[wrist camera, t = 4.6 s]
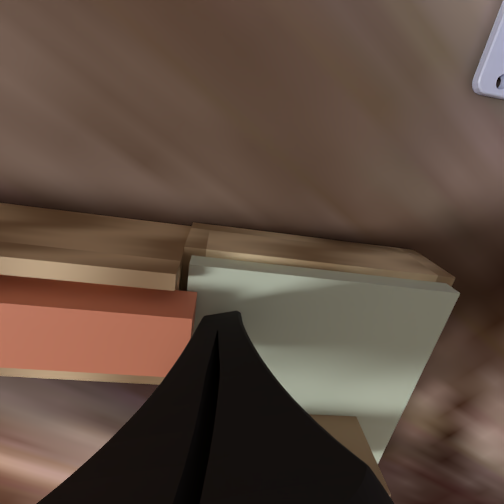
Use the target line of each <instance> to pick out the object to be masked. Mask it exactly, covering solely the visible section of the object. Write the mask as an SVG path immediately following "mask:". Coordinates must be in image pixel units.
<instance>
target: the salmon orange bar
mask: <svg viewBox="0 0 504 504" xmlns="http://www.w3.org/2000/svg"><path fill="white" fill-rule="evenodd" d="M196 301H197V292H191V291H180V290H175V291H169V290H158V289H148V288H137V287H127V286H116V285H106V284H95V283H84V282H74V281H63V280H53V279H42V278H32V277H21V276H10V275H0V368H16V369H33V370H51V371H68V372H85V373H102V374H120V375H137V376H154V377H165V376H166V375H167V374H168V372H169V371H170V369H171V368H172V367H173V365H174V364H175V362H176V361H177V359H178V358H179V356H180V355H181V353H182V352H183V350H184V348H185V347H186V345H187V344H188V342H189V340H190V339H191V337H192V335H193V332H194V321H195V311H196Z"/></svg>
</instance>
